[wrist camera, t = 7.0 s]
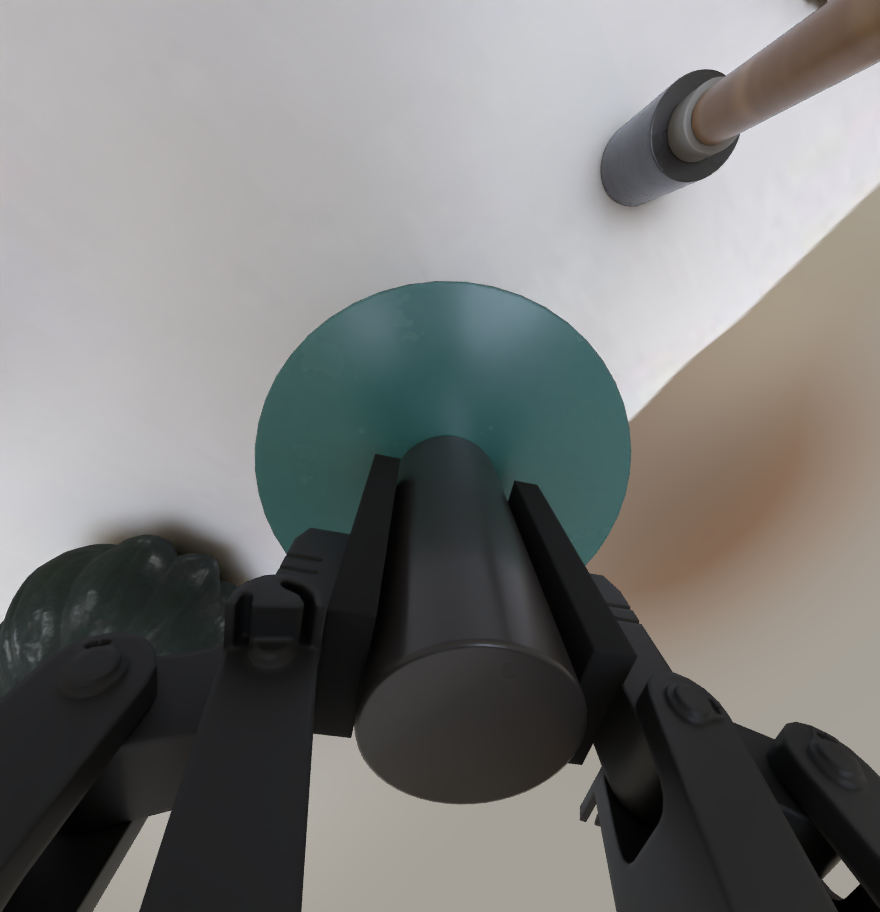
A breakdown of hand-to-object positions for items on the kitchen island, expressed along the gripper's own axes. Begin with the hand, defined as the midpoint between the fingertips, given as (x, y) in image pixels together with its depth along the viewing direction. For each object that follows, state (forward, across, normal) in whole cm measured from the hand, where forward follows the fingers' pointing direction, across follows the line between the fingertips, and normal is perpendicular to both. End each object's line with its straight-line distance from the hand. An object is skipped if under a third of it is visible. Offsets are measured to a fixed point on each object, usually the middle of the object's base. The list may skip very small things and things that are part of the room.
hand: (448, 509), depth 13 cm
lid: (+2, 0, 0) cm, 2 cm away
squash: (+18, -18, -21) cm, 33 cm away
